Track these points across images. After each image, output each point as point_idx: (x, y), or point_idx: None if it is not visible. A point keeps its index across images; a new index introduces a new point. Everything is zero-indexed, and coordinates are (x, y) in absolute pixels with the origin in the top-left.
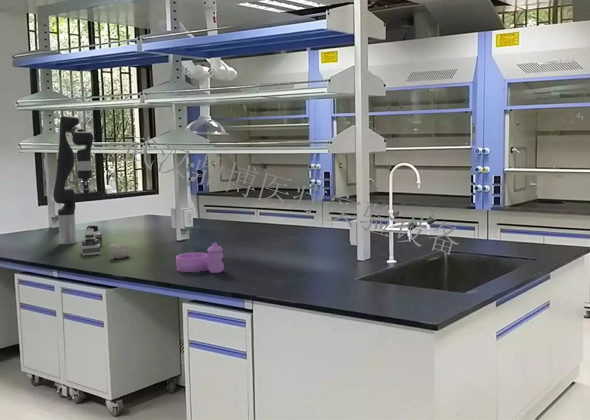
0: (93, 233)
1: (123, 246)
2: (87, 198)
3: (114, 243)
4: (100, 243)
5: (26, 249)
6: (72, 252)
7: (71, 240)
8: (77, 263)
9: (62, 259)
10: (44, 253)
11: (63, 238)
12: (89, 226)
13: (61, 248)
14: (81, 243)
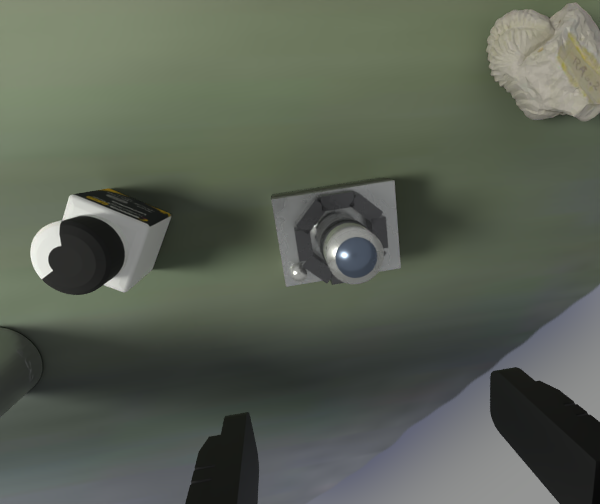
0: (358, 224)
1: (589, 29)
2: (560, 397)
3: (583, 80)
4: (122, 196)
5: (132, 493)
6: (277, 308)
7: (20, 353)
8: (552, 256)
9: (432, 325)
10: (258, 413)
11: (19, 394)
12: (93, 277)
13: (149, 369)
14: (302, 281)
